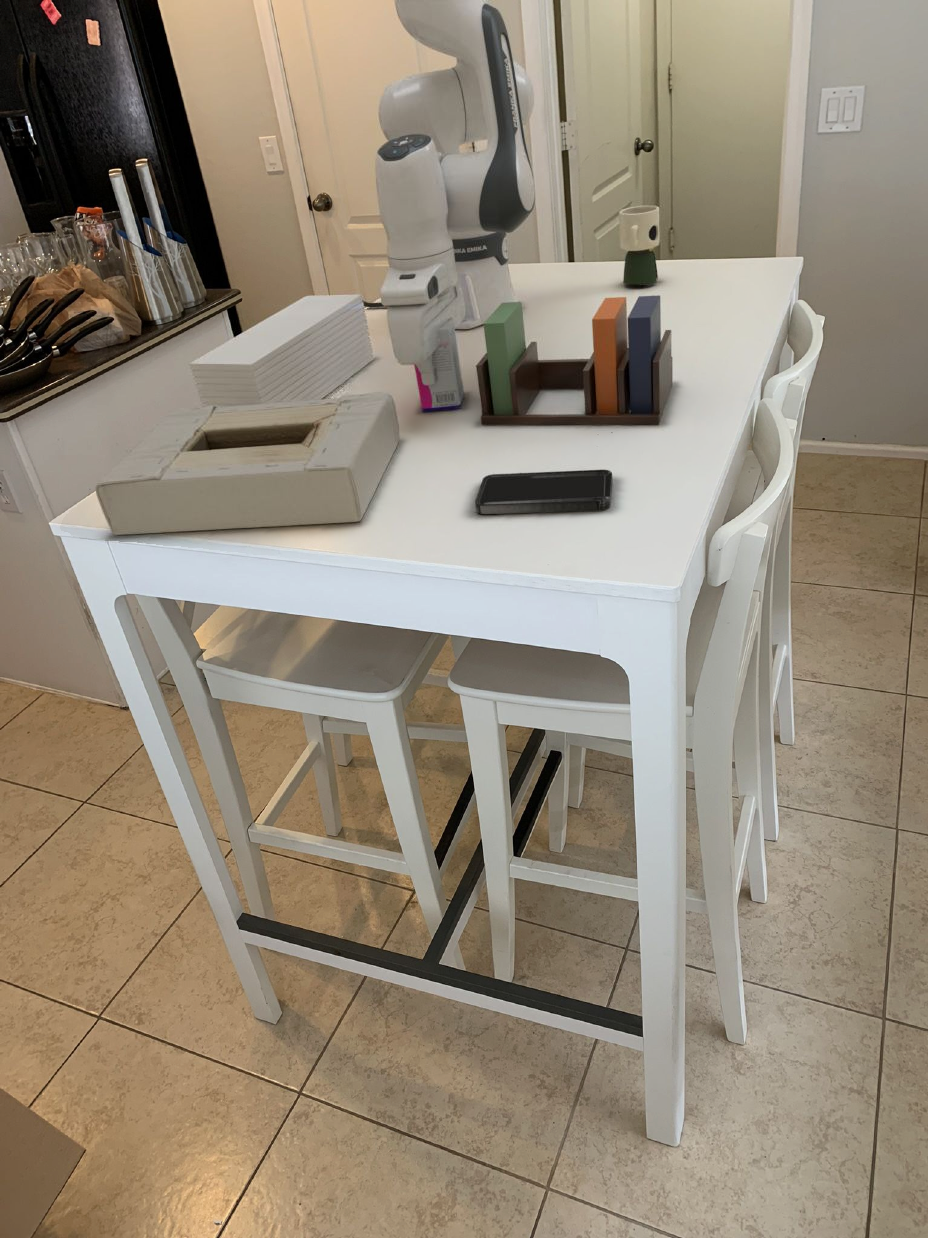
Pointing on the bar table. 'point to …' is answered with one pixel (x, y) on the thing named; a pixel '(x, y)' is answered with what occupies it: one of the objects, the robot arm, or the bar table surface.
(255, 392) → the white long layered block
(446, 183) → the robot arm
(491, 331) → the green book
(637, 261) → the character mug
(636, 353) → the navy book
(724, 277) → the bar table surface
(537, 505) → the phone
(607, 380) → the orange book
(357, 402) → the box
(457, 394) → the supplement box
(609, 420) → the book rack
